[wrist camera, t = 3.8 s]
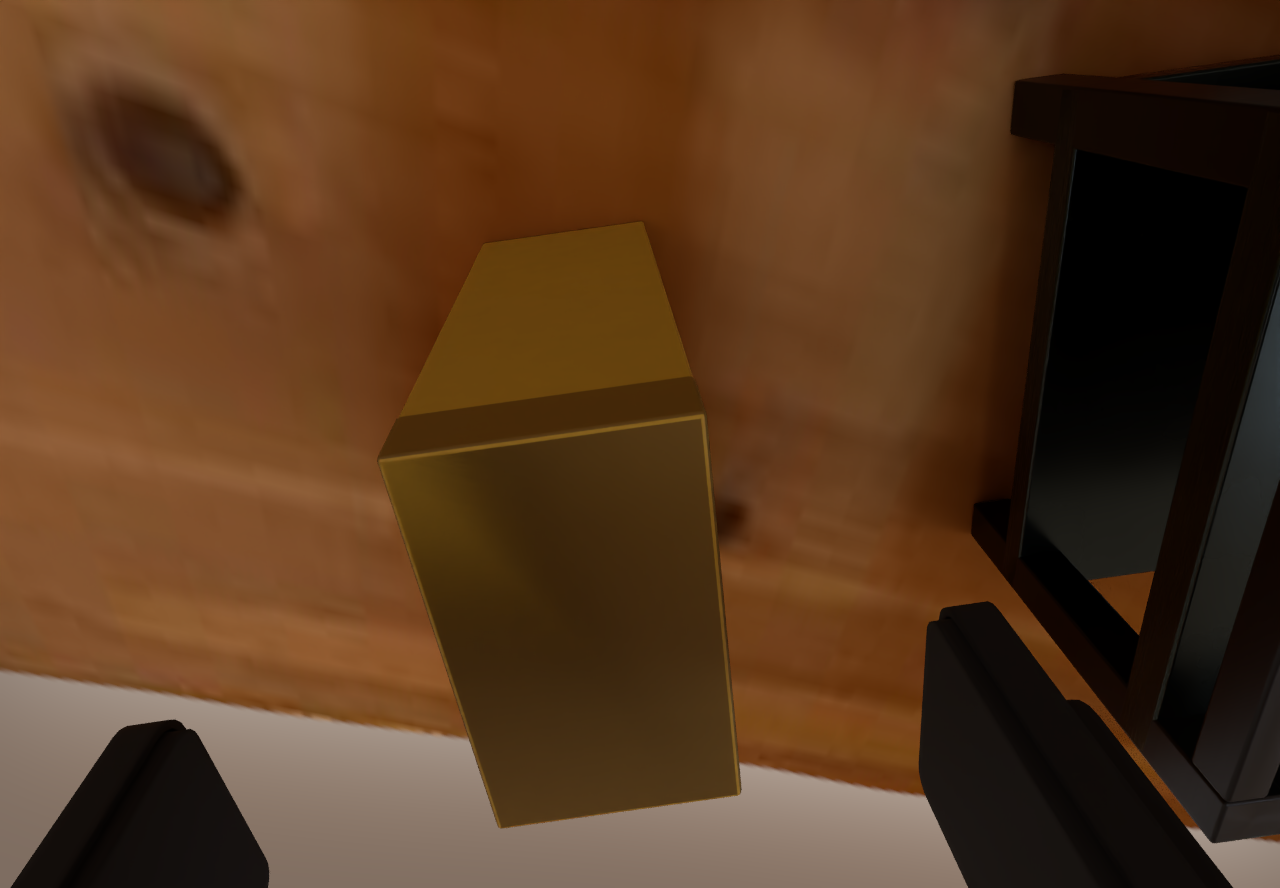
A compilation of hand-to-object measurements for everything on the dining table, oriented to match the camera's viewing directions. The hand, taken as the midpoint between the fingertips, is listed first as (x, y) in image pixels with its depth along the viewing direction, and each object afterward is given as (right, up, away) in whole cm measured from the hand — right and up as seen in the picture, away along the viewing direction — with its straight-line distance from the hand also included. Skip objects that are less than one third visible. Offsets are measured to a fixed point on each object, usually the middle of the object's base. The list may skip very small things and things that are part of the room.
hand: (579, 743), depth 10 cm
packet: (-1, +6, +11) cm, 12 cm away
